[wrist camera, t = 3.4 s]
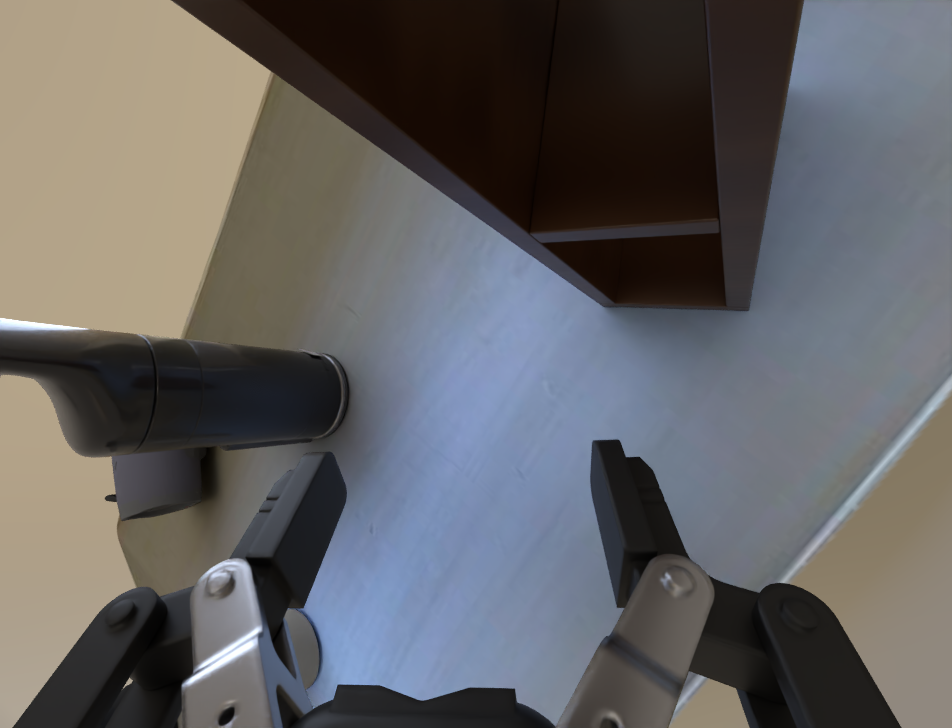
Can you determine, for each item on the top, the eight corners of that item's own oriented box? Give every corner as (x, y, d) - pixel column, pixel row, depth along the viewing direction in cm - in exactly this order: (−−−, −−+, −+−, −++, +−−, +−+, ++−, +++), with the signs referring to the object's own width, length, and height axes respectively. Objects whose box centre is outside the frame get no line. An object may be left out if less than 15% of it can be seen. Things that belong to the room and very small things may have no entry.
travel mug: (274, 605, 48) (60, 701, 33) (318, 610, 44) (98, 722, 29) (279, 681, 47) (58, 819, 31) (325, 693, 43) (98, 858, 27)
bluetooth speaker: (175, 364, 65) (92, 359, 57) (204, 339, 61) (119, 330, 53) (191, 509, 59) (101, 528, 51) (225, 493, 55) (133, 511, 47)
